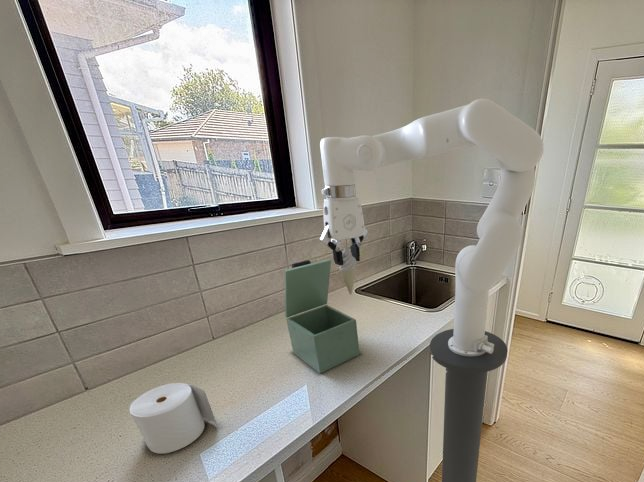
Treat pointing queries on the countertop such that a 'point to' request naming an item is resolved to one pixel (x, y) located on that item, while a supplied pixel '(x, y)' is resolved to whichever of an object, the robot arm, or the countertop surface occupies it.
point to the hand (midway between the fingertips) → (347, 261)
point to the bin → (323, 337)
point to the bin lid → (306, 286)
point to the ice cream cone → (348, 268)
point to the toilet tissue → (171, 416)
